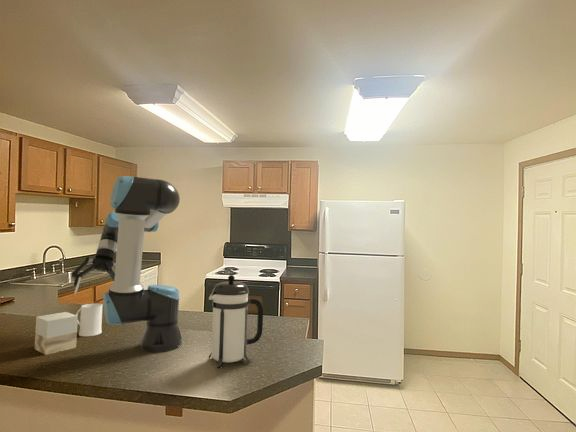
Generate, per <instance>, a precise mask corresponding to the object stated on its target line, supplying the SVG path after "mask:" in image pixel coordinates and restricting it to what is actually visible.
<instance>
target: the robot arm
mask: <svg viewBox="0 0 576 432" xmlns="http://www.w3.org/2000/svg"><path fill="white" fill-rule="evenodd" d="M110 194H111V195H110V202H109V203H110V207H111V208H113V209H114V210H111V211H110V212H109V213H108V215H107V216H106V218H105V223H104V225H103V228H102V231H101V232H102V233H101V236H100V239H99V241H98V245H97V249H96V252H95V256H94V258H90V257H89V256H86V258H85V260H84V261H83V262H82V263H81V264H80V265H79V266H78V267H77V268H75V269H74V270H73V272H72V273H71V277H72V278H73V279H74V282H73V286H74V287H75V289H74V294H73V295H74V296H75V295H77V292H78V290H79V286H80V283H81V280H82V278H83V277H84V276H86V275H87V274H89V273H91V272H93V271H95V270H96V271H98V272H99V271H100V272H107V274H109V276H110V277H111V279H112V281H113V283H112V284H111V285H109V287H108V291H107V292H104V293H103V297H102V300H103V302H102V306H103V311H104V316H105V317H104V318H105V321H106V322H107V324H108V325H109V326H110V325H111V326H115V325H121V326H122V325H126V324H133V323H141V322H146V327H145V329H144V332H143V334H142V338H141V340H140V349H141V350H142V351H145V352H150V353H151V352H152V353H160V352H161V353H162V352H168V351H167V350H169V351H172V350H171V349H173V350H175V349H174V348H176V347H178V346H179V345H181V346H182V344H181V343H183V341H182V340H183V338H182V334H181V331H180V327H179V305H180V304H179V303H180V293H179V292H180V291H179V289H178V288H177V287H175V286H171V285H164V284H163V285H162V284H150V285H148V286H147V289H144V288H145V287H144V285H143V284H142V283H141V273H142V259H143V248H144V239H145V237H144V236H145V232H147V233H151V232H152V233H153V232H157V231H158V228H159V224H160V223H159V222H160V221H161V220H162V219H163V218H164V217H165V216H167V215H168V214H169V215H170V214H171V213H173V212H174V211H176V210H177V208H178V207H179V204H180V199H181V198H180V194H179V191H178V189H177V188H176V187H175V185H173V184H171V183H170V182H168V181H166V180H163V179H156V178H148V177H142V176H141V177H138V176H134V175H131V176H129V175H126V176H125V175H121V176H118V177H117V178H116V179H115V181H114V183H113V187H112V190H111V193H110ZM115 257H116V258H115ZM114 260H115V262H114ZM89 264H92V265H91V266H89V267H87V268H86V269H84V268H85V267H86V266H88V265H89ZM113 267H114V269H115V270H114V271H113ZM83 269H84V270H83ZM179 347H180V346H179ZM179 347H178V348H179ZM176 349H177V348H176Z"/></svg>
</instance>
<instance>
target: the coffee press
mask: <svg viewBox="0 0 576 432" xmlns="http://www.w3.org/2000/svg"><path fill="white" fill-rule="evenodd" d="M227 279H228V281H220V282H218V283H217V284H215V286H214V288H213V289H212V292H211V293H210V294H209V297H208V300H210V301H211V300H212V322H211V323H212V327H211V329H212V331H211V352H210V354H209V355H208V359H209V358H210V357H212V358H213V359H212V360H214V361H217V364H216V368H217V369H219V368H221V367H222V368H223V367H224V365H225V363H234V362H235V363H236V362H239V361H241V362H242V363H243V364H244V365H248V364H249V362H250V360H249V358H248V356H247V347H248V345H253V344H255V343H257V342H258V341H259V340H260V339H261V337H262V336H263V335H262V334H263V329H264V328H263V325H264V324H263V323H264V322H263V321H264V319H263V318H264V309H263V305H262V303H261V302H260V301H259V300H258V299H256V298H250V299H249V293H250V289H249V288H248V285H247V284H245V283H244V282H241V281H235V276H234V275H233V274H230V275H229V276H228V277H227ZM249 304H250V305H255V306H256V308H257V319H256V320H257V321H256V322H257V326H256V328H257V329H256V334H255V336H254V337H252V338H247V337H248V335H247V333H248V332H247V331H248V308H249V307H248V306H249ZM245 363H246V364H245Z"/></svg>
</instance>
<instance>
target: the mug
mask: <svg viewBox="0 0 576 432" xmlns="http://www.w3.org/2000/svg"><path fill="white" fill-rule="evenodd" d="M79 313H80V315H78V314H79ZM75 315H77V316H80V318H79V320H78V322H77V326H79V332H78V336H79V337H93V336H99V335H100V334H102V333H103V332H102V330H103V329H102V321H103V303H86V304H82V305H80V308H79V309H78V310H77V311H76V313H75Z"/></svg>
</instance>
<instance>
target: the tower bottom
mask: <svg viewBox="0 0 576 432" xmlns="http://www.w3.org/2000/svg"><path fill="white" fill-rule="evenodd" d="M34 333H35V332H34ZM77 336H78V331H77V332H74V333H69V334H64V335H60V336H55V337H50V338H45V337H43V336H41V335H39V334H37V333H35V335H34V347H33V348H34V350H36V351H38V352H40V353H41V354H42V355H45V356H47V355H51V354H55V353H60V352H63V351H67V350H72V349H75V348H77ZM59 351H60V352H59Z"/></svg>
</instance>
